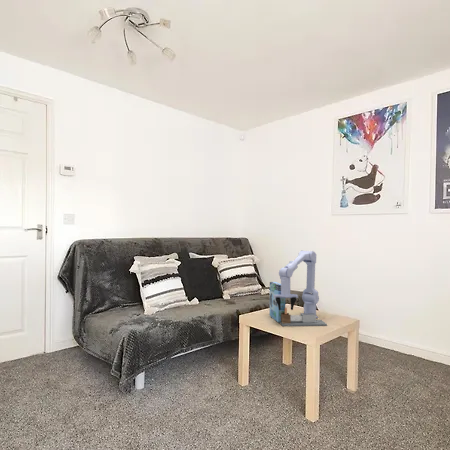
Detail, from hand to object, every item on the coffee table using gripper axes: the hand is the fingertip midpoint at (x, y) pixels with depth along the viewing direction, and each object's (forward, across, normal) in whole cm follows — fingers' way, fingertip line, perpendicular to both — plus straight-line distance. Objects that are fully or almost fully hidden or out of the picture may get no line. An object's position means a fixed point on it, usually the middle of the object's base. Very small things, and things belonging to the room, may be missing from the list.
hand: (285, 309), depth 202 cm
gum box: (+9, -3, +12) cm, 15 cm away
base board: (+9, +10, 0) cm, 13 cm away
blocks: (+7, +6, 0) cm, 9 cm away
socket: (+9, 0, 0) cm, 9 cm away
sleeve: (+8, +14, 0) cm, 16 cm away
